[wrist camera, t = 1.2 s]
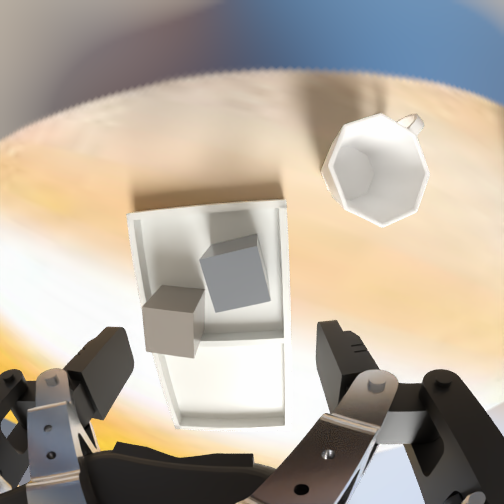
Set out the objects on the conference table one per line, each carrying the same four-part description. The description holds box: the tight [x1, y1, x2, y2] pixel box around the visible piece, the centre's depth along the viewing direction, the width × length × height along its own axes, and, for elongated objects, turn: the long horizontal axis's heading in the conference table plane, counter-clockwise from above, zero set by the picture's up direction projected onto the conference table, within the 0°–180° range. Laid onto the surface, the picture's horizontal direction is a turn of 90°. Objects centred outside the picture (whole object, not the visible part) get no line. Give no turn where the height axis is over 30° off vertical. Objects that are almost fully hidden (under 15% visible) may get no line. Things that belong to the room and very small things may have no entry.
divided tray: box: [126, 199, 291, 431], centre depth 26 cm, size 13×24×2 cm, turn 4°
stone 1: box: [142, 285, 205, 359], centre depth 23 cm, size 4×4×5 cm
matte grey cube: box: [199, 234, 271, 313], centre depth 22 cm, size 4×4×5 cm
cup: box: [320, 113, 430, 228], centre depth 19 cm, size 7×10×8 cm
